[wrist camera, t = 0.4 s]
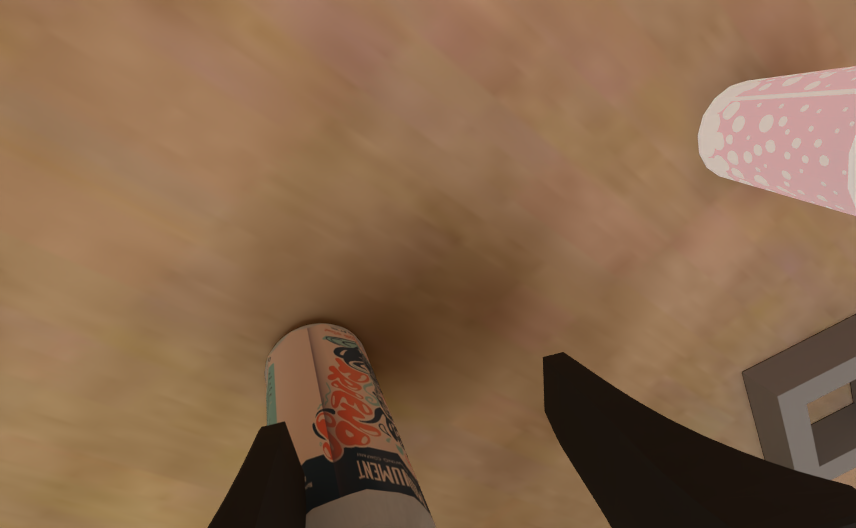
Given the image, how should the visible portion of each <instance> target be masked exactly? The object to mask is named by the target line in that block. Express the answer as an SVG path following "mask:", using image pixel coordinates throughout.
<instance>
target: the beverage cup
mask: <svg viewBox="0 0 856 528" xmlns="http://www.w3.org/2000/svg"><path fill="white" fill-rule="evenodd" d="M698 144H699V154H700V156H701V158H702V160H703V161H704V163H705V165H706V167H707V168H708V169H710V170H711V171H712V172H714V173H715V174H717V175H718V176H720V177H724V178H727V179H731V180H734V181H738V182H741V183H744V184H748V185H751V186H755V187H758V188H762V189H765V190H768V191H772V192H775V193H779V194H782V195H786V196H789V197H792V198H796V199H799V200H803V201H806V202H810V203H813V204H817V205H820V206H823V207H827V208H830V209H834V210H837V211H841V212H844V213H847V214H851V215H854V216H856V66H853V67H846V68H838V69H831V70H824V71H816V72H809V73H801V74H794V75H786V76H779V77H771V78H764V79H756V80H749V81H745V82H741V83H738V84H735V85H732V86H729V87H728V88H727V89H726V90H724V91H723V92H722V93H721V94H719V95H718V96H717V97H716V98H714V100H713V101H712V103H711V104H710V106H709V108H708V109H707V111H706V112H705V114H704V115H703V118H702V122H701V125H700V129H699V133H698Z"/></svg>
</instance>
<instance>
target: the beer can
mask: <svg viewBox="0 0 856 528" xmlns="http://www.w3.org/2000/svg"><path fill="white" fill-rule="evenodd" d="M265 380H266V401H267V426H268V425H272V424H276V423H280V422H284V421H285V423H286V426H287V428H288V431H289V434H290V436H291V439H292V442H293V444H294V447H295V450H296V453H297V455H298V458H299V461H300V463H301V466H302V469H303V472H304V474H305V493H306V526H305V528H436V526H435V523H434V521H433V519H432V516H431V514H430V511H429V509H428V506H427V504H426V501H425V499H424V496H423V494H422V491H421V489H420V486H419V484H418V481H417V479H416V476H415V474H414V471H413V469H412V466H411V464H410V461H409V459H408V456H407V454H406V451H405V449H404V446H403V444H402V441H401V439H400V436H399V434H398V431H397V429H396V426H395V424H394V421H393V419H392V416H391V414H390V412H389V409H388V407H387V404H386V402H385V399H384V397H383V394H382V392H381V389H380V387H379V384H378V382H377V379H376V377H375V374H374V372H373V369H372V367H371V364H370V362H369V359H368V357H367V354H366V351H365V349H364V347H363V345H362V343H361V342H360V341H359V339H358V338H357V337H356V336H355V335H354V334H353V333H352V332H350V331H349V330H347V329H345V328H343V327H340V326H337V325H333V324H325V323H317V324H309V325H305V326H302V327H300V328H297V329H295V330H293V331H291V332H289V333H288V334H287V335H285V336H284V337H283V338H281V339H280V340H279V341H278V342H277V344H276V345H275V346H274V347H273V349H272V350H271V352H270V354H269V356H268V358H267V361H266V367H265Z"/></svg>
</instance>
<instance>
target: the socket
mask: <svg viewBox="0 0 856 528" xmlns="http://www.w3.org/2000/svg"><path fill="white" fill-rule="evenodd" d="M742 374H743V378H744V382H745V385H746V389H747V393H748V397H749V401H750V404H751V408H752V412H753V416H754V420H755V423H756V427H757V431H758V435H759V439H760V442H761V446H762V450H763V454H764V458H765V460H766V461H769V462H772V463H775V464H778V465H781V466H784V467H787V468H790V469H793V470H796V471H799V472H803V473H807V474H810V475H814V476H817V477H821V478H825V479H828V480H832V479H834V478H836V477H838V476H840V475H842V474H844V473H846V472H848V471H850V470H852V469H853V468H855V467H856V315H854V316H852V317H850V318H848V319H846V320H844V321H842V322H840V323H838V324H836V325H834V326H832V327H830V328H828V329H826V330H824V331H822V332H820V333H818V334H816V335H814V336H812V337H810V338H808V339H807V340H805V341H803V342H801V343H799V344H797V345H795V346H793V347H791V348H789V349H787V350H785V351H783V352H781V353H779V354H777V355H775V356H773V357H771V358H769V359H767V360H765V361H763V362H761V363H759V364H757V365H756V366H754V367H752V368H750V369H748V370H746V371H744V372H742ZM849 382H850V383H851V390H852V396H853V402H854V403H853V404H851V405H849V406H847V407H845V408H843V409H841V410H839V411H837V412H835V413H834V414H832V415H830V416H828V417H826V418H824V419H822V420H820V421H818V422H816V423H814V424H812V425H811V423H810V419H809V414H808V409H807V404H808V403H810V402H812V401H814V400H816V399H818V398H820V397H822V396H824V395H826V394H828V393H830V392H832V391H834V390H836V389H837V388H839V387H841V386H843V385H845V384H847V383H849Z"/></svg>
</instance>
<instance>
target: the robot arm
mask: <svg viewBox="0 0 856 528" xmlns="http://www.w3.org/2000/svg"><path fill="white" fill-rule="evenodd" d="M543 375H544V407H545V413H546V415H547V417H548V420H549V422H550V424H551V426H552V428H553V431H554V433H555V435H556V437H557V439H558V441H559V443H560V445H561V446H562V448H563V450H564V451H565V453H566V455H567V456H568V458H569V459H570V461H571V463H572V464H573V466H574V467H575V469H576V471H577V472H578V474H579V475H580V477H581V479H582V480H583V482H584V483H585V485H586V487H587V488H588V490H589V491H590V493H591V494H592V496H593V498H594V499H595V501H596V502H597V504H598V506H599V507H600V509H601V510H602V512H603V514H604V515H605V517H606V519H607V520H608V522H609V524H610V526H611V527H612V528H856V489H855V488H853V487H852V486H850V485H846V484H842V483H839V482H835V481H832V480H828V479H825V478H821V477H817V476H814V475H810V474H807V473H803V472H799V471H796V470H793V469H790V468H787V467H784V466H781V465H778V464H775V463H772V462H769V461H766V460H763V459H760V458H758V457H755V456H752V455H749V454H747V453H744V452H741V451H739V450H737V449H734V448H732V447H729V446H727V445H724V444H722V443H719V442H717V441H714V440H712V439H710V438H708V437H705V436H703V435H701V434H699V433H697V432H695V431H693V430H690V429H688V428H686V427H684V426H682V425H680V424H678V423H676V422H674V421H672V420H670V419H668V418H666V417H664V416H663V415H661V414H659V413H657V412H655V411H654V410H652V409H650V408H648V407H647V406H645V405H643V404H641V403H640V402H638V401H636V400H635V399H633V398H631V397H630V396H628V395H627V394H625V393H623V392H622V391H620V390H619V389H617V388H616V387H614V386H612V385H611V384H609V383H608V382H606V381H605V380H603V379H602V378H600V377H599V376H597V375H596V374H595V373H593V372H592V371H590V370H589V369H587V368H586V367H584V366H583V365H581V364H580V363H579V362H577V361H576V360H574V359H573V358H571V357H570V356H568V355H567V354H565V353H564V352H562V353H558V354H554V355H550V356H546V357H543ZM305 526H306V493H305V474H304V472H303V469H302V466H301V463H300V461H299V458H298V455H297V453H296V450H295V447H294V444H293V442H292V439H291V436H290V434H289V431H288V428H287V426H286V423H285V421H284V422H280V423H276V424H272V425H268V426H264V427H261V429H260V430H259V431H258V433H257V436H256V438H255V440H254V442H253V444H252V446H251V448H250V450H249V452H248V455H247V457H246V459H245V461H244V463H243V465H242V467H241V469H240V471H239V473H238V475H237V476H236V478H235V480H234V482H233V484H232V486H231V488H230V490H229V491H228V493H227V495H226V497H225V499H224V501H223V502H222V504H221V506H220V508H219V509H218V511H217V513H216V514H215V516H214V518H213V519H212V521H211V523H210V524H209V526H208V528H305Z"/></svg>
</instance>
